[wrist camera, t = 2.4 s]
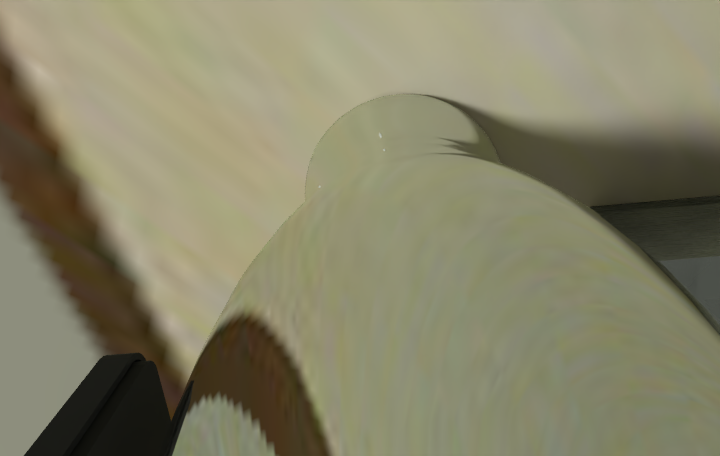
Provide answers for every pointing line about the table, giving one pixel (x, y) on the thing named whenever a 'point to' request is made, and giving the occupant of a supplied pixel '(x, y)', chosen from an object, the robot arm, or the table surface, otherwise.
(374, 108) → the beer glass
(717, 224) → the grey tray
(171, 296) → the table surface
